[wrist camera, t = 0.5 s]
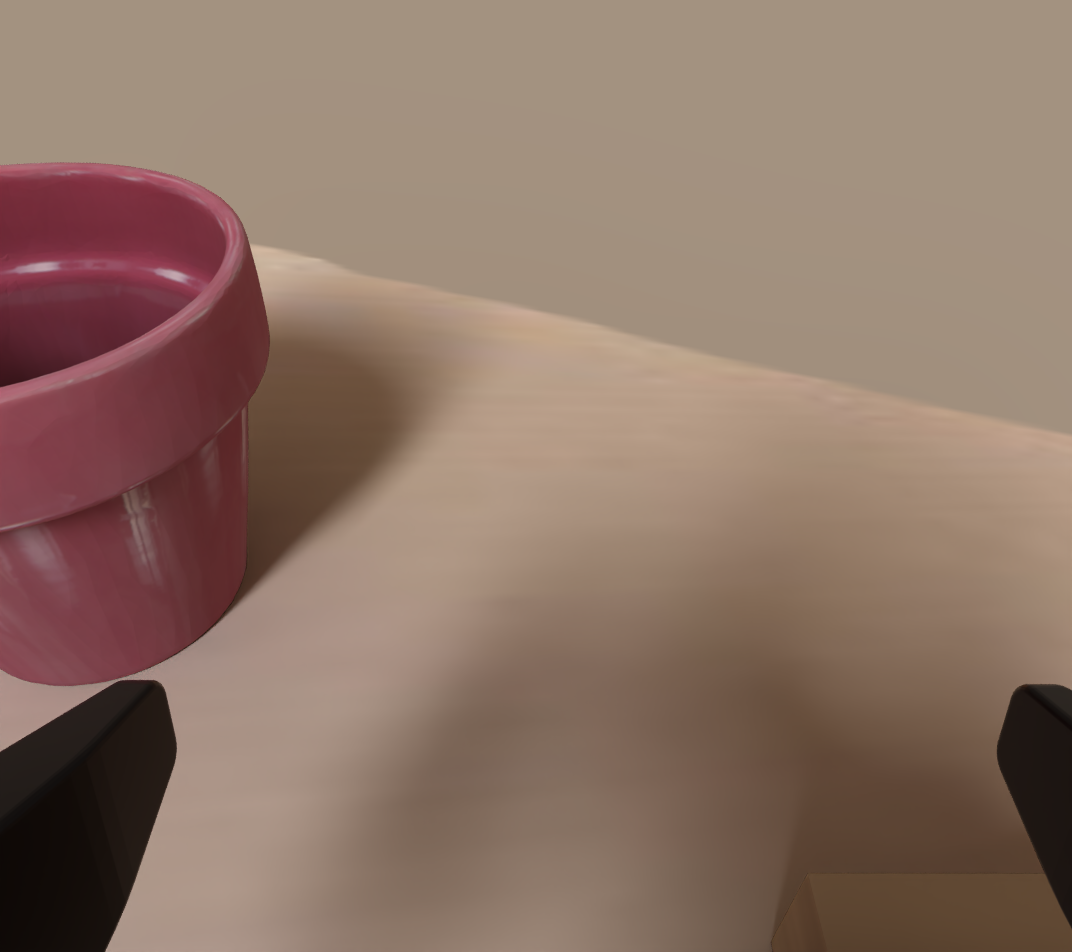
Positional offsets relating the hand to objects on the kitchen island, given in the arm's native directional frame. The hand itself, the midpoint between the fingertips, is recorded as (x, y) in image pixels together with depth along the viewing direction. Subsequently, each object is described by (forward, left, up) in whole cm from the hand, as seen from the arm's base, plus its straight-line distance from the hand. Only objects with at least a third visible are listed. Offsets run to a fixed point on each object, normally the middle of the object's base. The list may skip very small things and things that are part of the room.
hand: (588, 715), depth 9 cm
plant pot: (+15, +15, -15) cm, 26 cm away
